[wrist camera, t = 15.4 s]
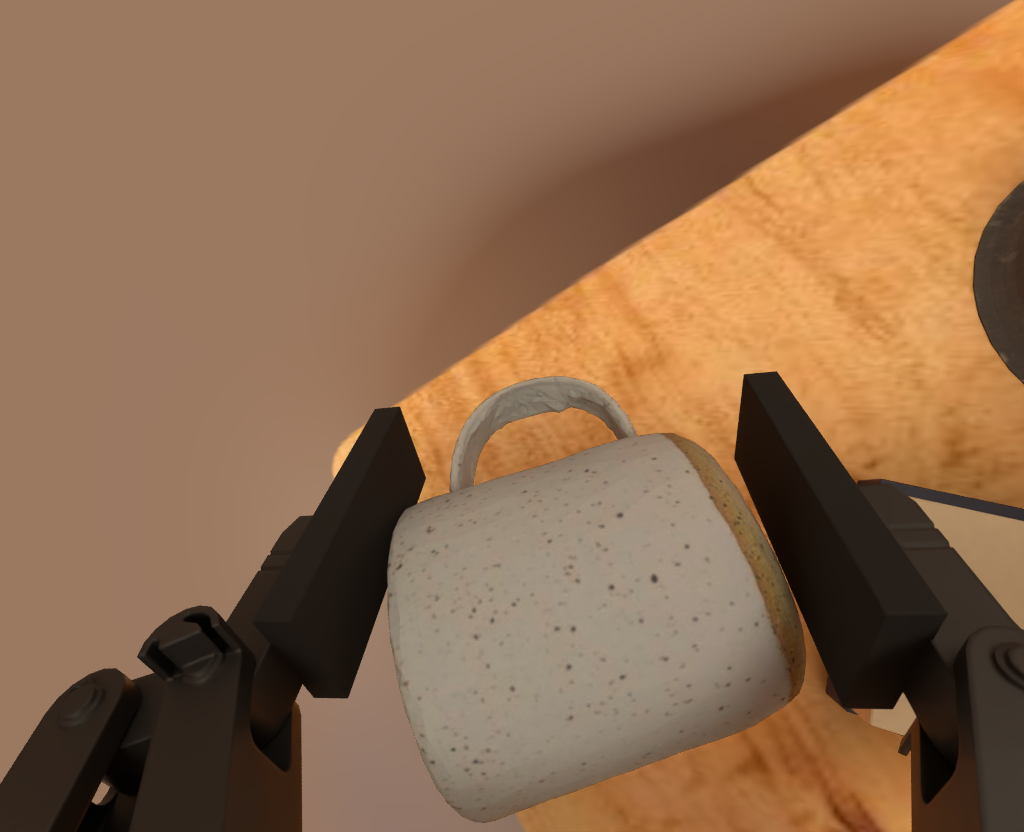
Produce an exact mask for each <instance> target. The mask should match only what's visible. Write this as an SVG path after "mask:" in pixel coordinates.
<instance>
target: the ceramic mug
mask: <svg viewBox="0 0 1024 832" xmlns="http://www.w3.org/2000/svg"><path fill="white" fill-rule="evenodd" d="M570 407H573V408H578V409H582V410H585V411H587V412H589V413H591V414H593V415H595V416H597V417H599V418H600V419H601V420H602V421H604V422H605V423H606V425H607V427H608V428H609V429H611V430H612V431H613V432H614V434H615V436H616V437H617V439H618V440H616V441H612V442H609V443H606V444H603V445H599V446H596V447H593V448H590V449H587V450H583V451H581V452H578V453H576V454H573V455H571V456H568V457H566V458H563V459H560V460H557V461H554V462H551V463H548V464H545V465H541V466H538V467H535V468H532V469H528V470H524V471H521V472H517V473H513V474H510V475H506V476H503V477H500V478H496V479H493V480H490V481H487V482H484V483H481V484H478V485H475V486H473V483H474V475H475V470H476V466H477V461H478V457H479V455H480V453H481V451H482V449H483V447H484V445H485V444H486V442H487V441H488V440H489V438H490V437H491V436H492V435H493V434H494V433H495V432H496V431H497V430H499V429H501V428H502V427H504V426H505V425H506V424H507V423H511V422H513V421H516V420H519V419H523V418H527V417H530V416H534V415H538V414H541V413H546V412H551V411H552V412H559V413H560V412H562V411H564V410H566V409H568V408H570ZM387 583H388V603H387V605H388V616H389V617H388V618H389V629H390V641H391V646H392V651H393V656H394V661H395V667H396V673H397V678H398V683H399V688H400V693H401V696H402V700H403V704H404V708H405V711H406V714H407V717H408V719H409V722H410V724H411V727H412V729H413V733H414V736H415V738H416V741H417V744H418V747H419V750H420V753H421V756H422V759H423V761H424V763H425V765H426V767H427V769H428V771H429V773H430V775H431V777H432V779H433V782H434V784H435V786H436V788H437V789H438V791H439V792H440V793H441V794H442V796H443V797H444V798H445V800H446V802H447V803H448V804H449V805H450V806H451V807H452V808H453V809H455V810H456V811H457V812H458V813H459V814H460V815H461V816H462V817H465V818H466V819H469V820H472V821H474V822H482V823H485V822H490V821H495V820H498V819H500V818H503V817H506V816H508V815H511V814H513V813H516V812H519V811H522V810H524V809H527V808H530V807H532V806H535V805H538V804H540V803H543V802H545V801H547V800H550V799H554V798H557V797H560V796H563V795H566V794H569V793H572V792H575V791H577V790H579V789H582V788H585V787H588V786H591V785H594V784H597V783H599V782H602V781H604V780H606V779H609V778H612V777H615V776H618V775H621V774H624V773H627V772H630V771H633V770H635V769H638V768H640V767H642V766H645V765H648V764H651V763H654V762H656V761H659V760H662V759H665V758H667V757H670V756H673V755H675V754H678V753H681V752H683V751H686V750H689V749H692V748H695V747H698V746H701V745H704V744H708V743H711V742H714V741H717V740H720V739H723V738H725V737H728V736H731V735H734V734H737V733H739V732H742V731H744V730H746V729H748V728H750V727H752V726H754V725H756V724H757V723H759V722H760V721H762V720H764V719H765V718H767V717H768V716H770V715H771V714H773V713H775V712H776V711H778V710H779V709H781V708H783V707H784V706H786V705H787V704H788V703H789V702H791V701H792V700H793V699H794V698H795V697H796V696H797V695H798V694H799V693H800V690H801V687H802V684H803V681H804V675H805V665H806V648H805V641H804V634H803V629H802V626H801V622H800V618H799V615H798V611H797V608H796V606H795V603H794V600H793V597H792V595H791V592H790V589H789V587H788V584H787V582H786V579H785V577H784V574H783V572H782V570H781V567H780V565H779V562H778V560H777V558H776V556H775V554H774V552H773V550H772V549H771V547H770V545H769V543H768V541H767V539H766V537H765V535H764V533H763V531H762V530H761V528H760V526H759V524H758V522H757V520H756V519H755V517H754V515H753V514H752V512H751V510H750V509H749V507H748V505H747V504H746V502H745V500H744V499H743V497H742V495H741V493H740V492H739V490H738V489H737V487H736V486H735V485H734V484H733V482H732V481H731V480H730V478H729V477H728V476H727V475H726V473H725V472H724V471H723V469H722V468H721V467H720V465H719V464H718V463H717V461H716V460H715V459H714V458H713V457H712V456H711V455H710V454H709V453H708V452H707V451H706V450H705V449H703V448H702V447H700V446H699V445H698V444H696V443H695V442H693V441H690V440H688V439H686V438H683V437H681V436H679V435H676V434H674V433H655V434H648V435H641V436H637V435H636V432H635V429H634V427H633V426H632V424H631V422H630V420H629V417H628V415H627V414H626V413H625V412H624V411H623V410H622V409H621V407H620V406H619V404H618V403H617V401H615V400H614V399H613V398H612V397H611V396H609V395H608V394H607V393H606V392H605V391H604V390H603V389H601V388H599V387H598V386H596V385H594V384H591V383H589V382H586V381H583V380H580V379H575V378H570V377H564V376H555V377H544V378H535V379H530V380H526V381H523V382H520V383H517V384H514V385H511V386H509V387H506V388H504V389H502V390H500V391H498V392H496V393H494V394H493V395H492V396H490V397H489V398H487V399H486V400H485V401H484V402H482V403H481V404H480V405H479V406H478V407H477V408H476V409H475V410H474V412H473V413H472V414H471V416H470V417H469V419H468V420H467V421H466V423H465V425H464V426H463V428H462V431H461V433H460V435H459V438H458V440H457V442H456V446H455V449H454V453H453V457H452V465H451V473H450V493H447V494H443V495H440V496H436V497H433V498H430V499H428V500H425V501H422V502H420V503H418V504H416V505H414V506H412V507H410V508H407V509H406V510H405V511H404V512H403V514H402V515H401V517H400V518H399V520H398V523H397V525H396V527H395V529H394V531H393V535H392V541H391V545H390V551H389V559H388V568H387Z"/></svg>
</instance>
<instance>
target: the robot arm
mask: <svg viewBox="0 0 1024 832" xmlns="http://www.w3.org/2000/svg"><path fill="white" fill-rule="evenodd" d="M734 459H735V461H736V463H737V466H738V468H739V470H740V472H741V475H742V477H743V479H744V482H745V484H746V486H747V489H748V491H749V493H750V495H751V498H752V500H753V502H754V505H755V507H756V509H757V512H758V514H759V516H760V518H761V521H762V523H763V525H764V528H765V530H766V532H767V535H768V537H769V539H770V541H771V544H772V546H773V548H774V551H775V553H776V555H777V558H778V560H779V562H780V564H781V567H782V569H783V571H784V574H785V576H786V578H787V581H788V583H789V585H790V588H791V590H792V592H793V594H794V597H795V599H796V601H797V604H798V606H799V608H800V611H801V613H802V615H803V617H804V620H805V622H806V624H807V627H808V629H809V631H810V634H811V636H812V638H813V640H814V643H815V645H816V647H817V650H818V652H819V654H820V657H821V659H822V661H823V663H824V666H825V668H826V670H827V673H828V675H829V677H830V680H831V682H832V684H833V686H834V689H835V691H836V693H837V696H838V698H839V700H840V703H841V705H842V707H843V708H846V709H894V707H895V705H896V704H897V702H898V700H899V698H900V697H901V695H902V693H904V695H905V696H906V698H907V700H908V702H909V704H910V706H911V707H912V709H913V711H914V713H915V715H916V718H915V720H914V722H913V723H912V725H911V726H910V728H909V729H908V731H907V732H906V734H905V735H904V737H903V739H902V740H901V743H900V747H899V750H898V753H900V754H902V755H904V756H907V754H908V753H909V751H910V750H911V800H912V832H1024V629H1021V628H1020V627H1019V626H1018V625H1017V624H1016V623H1015V622H1014V621H1013V620H1012V618H1011V617H1010V616H1009V615H1008V614H1007V612H1006V611H1005V610H1004V609H1003V607H1002V606H1001V605H1000V604H999V603H998V601H997V600H996V599H995V598H994V596H993V595H992V594H991V593H990V592H989V590H988V589H987V588H986V587H985V585H984V584H983V583H982V582H981V581H980V579H979V578H978V577H977V576H976V574H975V573H974V572H973V571H972V570H971V568H970V567H969V566H968V565H967V563H966V562H965V561H964V560H963V559H962V557H961V556H960V555H959V554H958V552H957V551H956V550H955V549H954V548H953V547H950V545H949V541H948V540H947V539H946V538H945V537H944V535H943V534H942V533H941V532H940V530H939V529H938V528H935V527H934V523H933V522H932V521H931V519H930V518H929V517H928V516H927V514H926V513H925V512H924V511H923V510H922V508H921V507H920V506H919V505H918V503H917V502H916V501H914V500H913V499H911V498H910V497H908V496H907V495H905V494H904V493H902V492H901V491H899V490H898V489H896V488H895V487H893V486H892V485H890V484H889V483H886V484H867V485H857V484H856V483H855V482H854V480H853V479H852V477H851V476H850V474H849V473H848V472H847V470H846V469H845V467H844V466H843V465H842V463H841V462H840V460H839V459H838V457H837V456H836V455H835V453H834V452H833V450H832V449H831V448H830V446H829V445H828V443H827V442H826V440H825V439H824V438H823V436H822V435H821V433H820V432H819V431H818V429H817V428H816V426H815V425H814V423H813V422H812V421H811V419H810V418H809V416H808V415H807V414H806V412H805V411H804V409H803V408H802V406H801V405H800V404H799V402H798V401H797V399H796V398H795V397H794V395H793V394H792V392H791V391H790V390H789V388H788V387H787V385H786V384H785V382H784V381H783V380H782V378H781V377H780V375H779V374H778V373H777V371H776V372H765V373H754V374H744V378H743V387H742V396H741V404H740V413H739V422H738V430H737V439H736V448H735V456H734ZM425 479H426V477H425V474H424V472H423V469H422V466H421V463H420V461H419V458H418V455H417V452H416V450H415V447H414V444H413V441H412V439H411V436H410V433H409V430H408V428H407V425H406V422H405V419H404V417H403V414H402V411H401V408H400V407H392V408H382V409H375V410H374V412H373V413H372V415H371V417H370V418H369V420H368V422H367V424H366V425H365V427H364V429H363V431H362V432H361V434H360V436H359V437H358V439H357V441H356V443H355V444H354V446H353V448H352V449H351V451H350V453H349V455H348V456H347V458H346V460H345V461H344V463H343V465H342V467H341V468H340V470H339V472H338V474H337V475H336V477H335V479H334V480H333V482H332V484H331V486H330V487H329V489H328V491H327V492H326V494H325V496H324V498H323V499H322V501H321V503H320V505H319V506H318V508H317V510H316V511H315V513H314V515H313V516H300V517H299V518H298V519H296V521H294V522H293V523H292V524H291V525H290V526H289V527H288V528H287V529H286V530H285V531H284V532H283V533H282V534H281V536H280V537H279V539H278V540H277V542H276V543H275V545H274V547H273V548H272V550H271V554H270V555H268V556H267V558H266V560H265V561H264V563H263V564H262V566H261V571H258V572H257V574H256V575H255V577H254V579H253V580H252V582H251V583H250V585H249V587H248V588H247V590H246V591H245V593H244V595H243V596H242V598H241V600H240V601H239V603H238V604H237V606H236V607H235V609H234V610H233V612H232V614H231V615H230V617H229V619H228V620H227V622H225V621H224V619H223V618H222V617H221V616H220V615H219V614H218V613H217V612H216V611H215V610H214V609H213V608H212V607H208V606H196V607H192V608H189V609H186V610H183V611H182V612H180V613H178V614H176V615H174V616H172V617H170V618H169V619H168V620H167V621H165V622H164V623H163V624H162V625H160V626H159V627H158V628H157V629H155V631H154V632H153V633H152V634H151V635H150V636H149V638H148V639H147V640H146V641H145V642H144V644H143V646H142V648H141V650H140V652H139V654H138V656H137V657H138V658H139V659H140V660H141V661H142V662H143V663H144V664H145V665H147V666H148V667H149V668H150V669H151V670H152V671H153V672H155V673H152V674H150V675H146V676H143V677H140V678H137V679H134V680H130V679H129V678H128V677H127V676H125V675H124V674H123V673H122V672H120V671H119V670H117V669H115V668H114V669H102V670H100V671H97V672H95V673H92V674H89V675H88V676H86V677H84V678H83V679H81V680H80V681H78V682H76V683H75V684H73V685H72V686H71V687H70V688H69V689H68V690H67V691H65V692H64V693H63V694H62V695H61V696H60V697H59V698H58V699H57V700H56V701H55V702H54V704H53V705H52V706H51V707H50V709H49V710H48V711H47V712H46V714H45V715H44V717H43V718H42V720H41V721H40V723H39V725H38V726H37V728H36V729H35V731H34V732H33V734H32V735H31V737H30V739H29V740H28V742H27V743H26V745H25V746H24V748H23V750H22V751H21V753H20V754H19V756H18V757H17V759H16V761H15V762H14V764H13V765H12V767H11V768H10V770H9V771H8V773H7V775H6V776H5V778H4V779H3V781H2V782H1V784H0V832H302V768H301V767H302V761H301V760H302V757H301V713H300V709H299V705H298V704H297V703H296V702H295V700H296V697H297V695H298V693H299V690H300V688H301V686H302V684H303V685H304V686H305V687H306V689H307V690H308V691H309V692H310V693H311V694H312V696H313V697H314V698H348V697H349V694H350V691H351V688H352V685H353V683H354V680H355V677H356V674H357V671H358V669H359V666H360V663H361V660H362V657H363V654H364V652H365V649H366V646H367V643H368V640H369V637H370V635H371V632H372V629H373V626H374V623H375V621H376V618H377V615H378V612H379V609H380V607H381V604H382V601H383V598H384V595H385V592H386V590H387V587H388V583H387V568H388V559H389V551H390V545H391V541H392V535H393V531H394V529H395V527H396V525H397V523H398V520H399V518H400V517H401V515H402V514H403V512H404V511H405V510H406V509H407V508H410V507H412V506H414V505H416V504H417V502H418V499H419V496H420V494H421V491H422V488H423V485H424V482H425ZM101 782H103V783H105V784H106V785H108V786H110V788H109V790H108V792H107V794H106V795H105V797H104V798H103V800H102V801H101V802H100V803H99V804H97V805H96V804H94V803H93V802H91V801H92V799H93V797H94V795H95V793H96V791H97V789H98V787H99V785H100V783H101Z"/></svg>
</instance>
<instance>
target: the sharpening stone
mask: <svg viewBox="0 0 1024 832" xmlns="http://www.w3.org/2000/svg"><path fill="white" fill-rule="evenodd" d="M886 483H889V484H890V485H892V486H893V487H895V488H896V489H898V490H899V491H901V492H902V493H904V494H905V495H907V496H908V497H910V498H911V499H913V500H914V501H916V502H917V503H918V505H919V506H920V507H921V508H922V510H923V511H924V512H925V513H926V514H927V516H928V517H929V518H930V519H931V521H932V522H933V523H934V527H935V528H938V529H939V530H940V532H941V533H942V534H943V535H944V537H945V538H946V539H947V540H948V541H949V545H950V547H953V548H954V549H955V550H956V551H957V552H958V554H959V555H960V556H961V557H962V559H963V560H964V561H965V562H966V563H967V565H968V566H969V567H970V568H971V570H972V571H973V572H974V573H975V574H976V576H977V577H978V578H979V579H980V581H981V582H982V583H983V584H984V585H985V587H986V588H987V589H988V590H989V592H990V593H991V594H992V595H993V596H994V598H995V599H996V600H997V601H998V603H999V604H1000V605H1001V606H1002V607H1003V609H1004V610H1005V611H1006V612H1007V614H1008V615H1009V616H1010V617H1011V618H1012V620H1013V621H1014V622H1015V623H1016V624H1017V625H1018V626H1019V627H1020V628H1021V629H1024V509H1021V508H1017V507H1012V506H1007V505H1003V504H998V503H993V502H988V501H984V500H979V499H974V498H969V497H965V496H960V495H955V494H950V493H946V492H941V491H936V490H931V489H927V488H922V487H917V486H912V485H908V484H903V483H898V482H893V481H889V480H884V479H875V480H860V481H859V482H858V485H867V484H886ZM826 694H828V695H829V696H830V697H831V698H832V699H833V700H834V701H835V702H837V703H838V704H839V705H840V706H841V707H842V705H841V703H840V700H839V698H838V696H837V693H836V691H835V689H834V686H833V684H832V682H831V680H830V677H829V675H828V681H827V687H826ZM842 708H843V707H842ZM843 709H845V710H846V711H847V712H850V713H853V714H857V715H859V716H860V717H861V718H862V719H864V720H865V721H866V722H867V723H868V724H869V725H871V726H874V727H877V728H880V729H883V730H887V731H890V732H893V733H896V734H899V735H902V736H904V735H905V734H906V732H907V731H908V729H909V728H910V726H911V725H912V723H913V722H914V720H915V718H916V715H915V713H914V711H913V709H912V707H911V706H910V704H909V702H908V700H907V698H906V696H905V695H904V693H902V695H901V697H900V698H899V700H898V702H897V704H896V705H895V707H894V709H846V708H843Z"/></svg>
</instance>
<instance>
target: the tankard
mask: <svg viewBox="0 0 1024 832" xmlns="http://www.w3.org/2000/svg"><path fill="white" fill-rule="evenodd" d="M974 290H975V296H976V301H977V307H978V312H979V316H980V318H981V320H982V323H983V325H984V327H985V330H986V332H987V334H988V337H989V339H990V341H991V343H992V345H993V346H994V348H995V349H996V350H997V352H998V353H999V355H1000V356H1001V357H1002V359H1003V360H1004V362H1005V363H1006V364H1007V366H1008V367H1009V369H1010V370H1011V371H1012V372H1013V373H1014V374H1015V375H1016V376H1017V377H1018V378H1019V379H1020V380H1021V381H1022V382H1023V383H1024V181H1023V182H1022V183H1020V184H1019V185H1018V186H1017V187H1016V188H1015V189H1014V190H1013V191H1012V192H1011V193H1010V195H1009V196H1008V197H1007V198H1006V199H1005V200H1004V201H1003V202H1002V203H1001V204H1000V205H999V206H998V208H997V210H996V211H995V213H994V214H993V216H992V218H991V219H990V221H989V223H988V224H987V226H986V228H985V229H984V232H983V235H982V238H981V241H980V244H979V247H978V250H977V254H976V257H975V271H974Z"/></svg>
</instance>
